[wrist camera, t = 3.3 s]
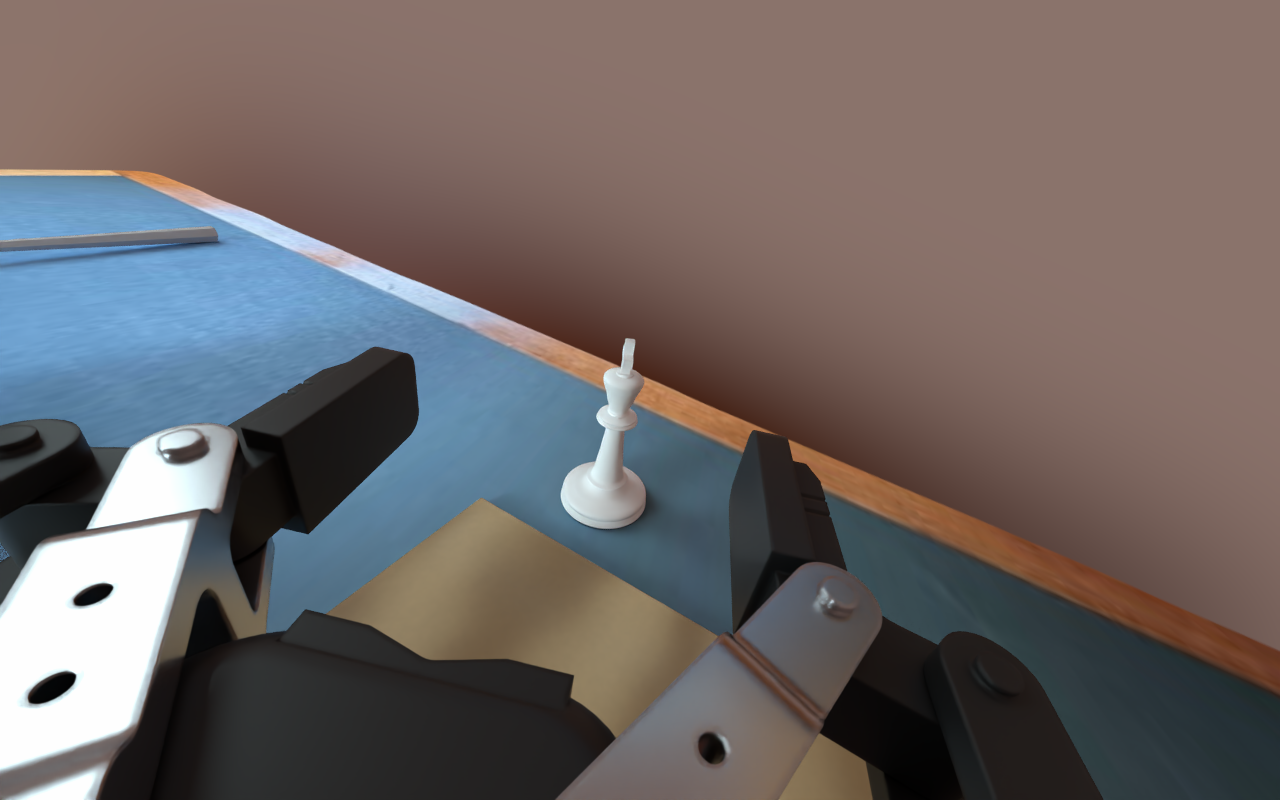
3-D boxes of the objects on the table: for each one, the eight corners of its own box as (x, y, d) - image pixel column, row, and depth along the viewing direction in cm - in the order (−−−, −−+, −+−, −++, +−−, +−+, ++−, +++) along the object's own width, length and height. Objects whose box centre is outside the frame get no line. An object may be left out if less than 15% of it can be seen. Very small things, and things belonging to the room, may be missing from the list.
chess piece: (643, 473, 29) (676, 327, 24) (647, 533, 25) (687, 372, 20) (565, 465, 29) (581, 314, 24) (555, 525, 25) (573, 356, 19)
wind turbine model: (190, 232, 52) (-427, 264, 28) (184, 210, 51) (-464, 225, 27) (274, 274, 47) (-389, 357, 23) (270, 251, 46) (-432, 314, 22)
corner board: (89, 800, 13) (81, 793, 13) (481, 502, 25) (481, 495, 25) (1105, 2202, 5) (1136, 2254, 5) (971, 791, 17) (979, 785, 17)
